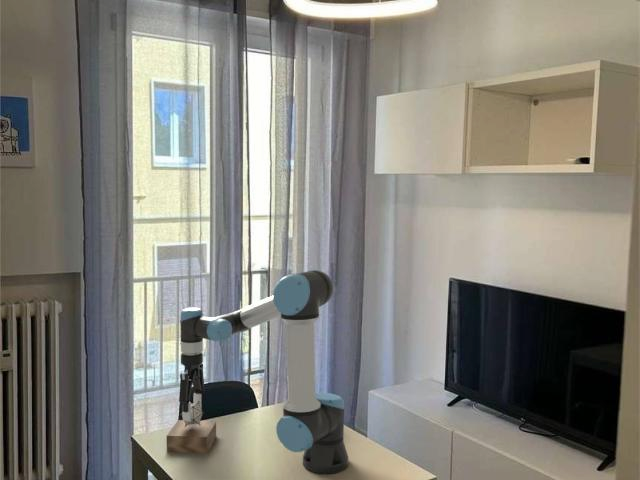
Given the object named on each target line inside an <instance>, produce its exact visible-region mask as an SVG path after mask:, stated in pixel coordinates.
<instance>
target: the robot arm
mask: <svg viewBox="0 0 640 480" xmlns="http://www.w3.org/2000/svg"><path fill="white" fill-rule="evenodd" d="M334 288H335V287H334V284H333V281H332V278H331V277H330V276H329V275H328V274H327V273H326V272H324V271H321V270H315V269H313V270H308V271H303V272H302V271H301V272H298V273H291V274H288V275H285V276H283V277H282V278H281V279H279V280H278V282H277V283H276V284H275V286H274V289H273V294H272V295H271V296H268V297H266V298H264V299H261V300H260V301H257V302H254V303H252V304H250V305H247V306H245V307H243V308H241V309H238V310H236V311H234V312H230V313H226V314H221V315H217V316H212V317H211V316H206V315H204V314H203V309H202V308H200V307H186V308H183V309H181V311H180V316H179V317H180V319H179V323H180V325H179V326H180V343H179V346H180V352H181V353H180V364H181V365H183V366H184V370H183V373H182V372H181V373H180V374H179V379H180V381H179V383H180V384H179V398H178V403H181V404H182V412H183V417H182V420H183V421H191V403H192V402H193V403H198V401H199V403H198V404H199V406H200V407H201V408H202V394H204V393H205V381H204V379H205V378H204V364H203V361H204V360H203V359H204V358H203V357H204V355H203V354H204V353H203V351H204V346H203V345H204V341H203V339H205V340H210V341H214V342H226V341H228V339H229V338H231V336H233V335H236V334H239V333H245V332H247V331H249V330H251V329H252V328H254V327H257V326H259V325H262V324H265V323H267V322H269V321H272V320H274V319H277V318H279V317H280V318H281V320H282V321H283V322H284V323H285V331H286V332H285V333H286V335H285V337H286V338H285V339H286V372H287V373H286V378H287V379H286V380H287V400H286V401H285V402H284V403H283V406H282V408H283V409H282V413H283V415H282V417H280V419H279V420H278V422H277V423H276V426H275V427H276V428H275V429H276V430H275V431H276V436H277V438H278V440H279V442H280V443H281V444H282V445H283V447H285V448H286V449H287V450H288V451H290V452H293V453H302V452H303V454H302V466H303V467H304V468H305V469H306V470H308V471H310V472H313V473H316V474H322V475H323V474H324V475H325V474H328V475H329V474H336V473H340V472H342V471H344V470H346V469H347V468H348V466H349V455H348V454H349V453H348V451H347V447H346V445H345V442H344V441H345V440H344V437H345V436H344V435H345V434H344V432H345V431H344V430H345V429H344V428H345V427H344V426H345V425H344V424H345V401H344V398H343V397H341V396H340V395H338V394H334V393H331V392H316V353H315V349H316V348H315V347H316V346H315V322H316V321H317V320H318V319H319V318H320V307H322V306H325V305H326V304H328V302H330V300H331V299H332V297H333V294H334ZM192 386H193V390H194V393H193V396H192V397H193V401H192V402H191V393H192Z"/></svg>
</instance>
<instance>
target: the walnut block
mask: <svg viewBox="0 0 640 480" xmlns="http://www.w3.org/2000/svg"><path fill="white" fill-rule="evenodd" d="M185 425H186V424H185V422H184V421H183V419H178V420H177V421H176V422H175V424H174V425H173V427H172V428H171V429H170V430H169V431H168V433H167V434H166V452H167V451H169V452H168V453H188V454H189V453H191V454H208V452H209V451H210V449H211V447H212V445H213V443H214V442H215V439H216V438H217V421H214V420H200V425H199V424H191V425H187V426H186V427H185Z"/></svg>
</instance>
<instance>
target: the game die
mask: <svg viewBox="0 0 640 480" xmlns="http://www.w3.org/2000/svg"><path fill="white" fill-rule="evenodd" d="M198 403H199V401H198ZM198 403H192V402H191V421H184V422H185V424H186V425H185V427H186V426H187V425H191V424H199V425H200V421H202V420H201V419H202V416H203V414H205V413H206V412H205V411H203V410H202V406H201V407H200V406H199V404H198ZM179 417H182V418H183V411H182V412H181V414H179Z"/></svg>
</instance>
